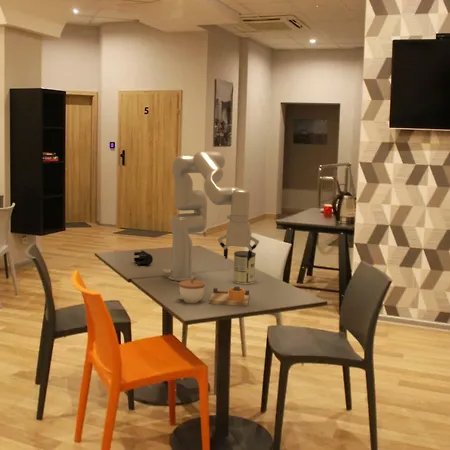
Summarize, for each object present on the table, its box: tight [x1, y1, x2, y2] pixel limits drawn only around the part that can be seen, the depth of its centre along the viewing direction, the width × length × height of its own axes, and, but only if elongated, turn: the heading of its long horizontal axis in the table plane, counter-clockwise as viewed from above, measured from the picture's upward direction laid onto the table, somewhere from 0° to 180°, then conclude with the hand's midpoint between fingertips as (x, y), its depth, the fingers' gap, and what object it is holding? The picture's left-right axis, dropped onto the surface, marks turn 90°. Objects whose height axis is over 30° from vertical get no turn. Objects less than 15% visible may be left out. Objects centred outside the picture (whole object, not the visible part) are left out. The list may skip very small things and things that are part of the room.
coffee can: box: [233, 250, 256, 285], centre depth 306 cm, size 10×10×14 cm
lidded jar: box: [178, 279, 206, 304], centre depth 269 cm, size 11×11×9 cm
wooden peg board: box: [208, 286, 251, 307], centre depth 272 cm, size 16×14×6 cm
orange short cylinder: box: [228, 287, 246, 301], centre depth 270 cm, size 6×6×4 cm
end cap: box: [133, 249, 154, 267], centre depth 335 cm, size 10×7×7 cm
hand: (237, 259), depth 268 cm, fingers open, 9 cm apart
